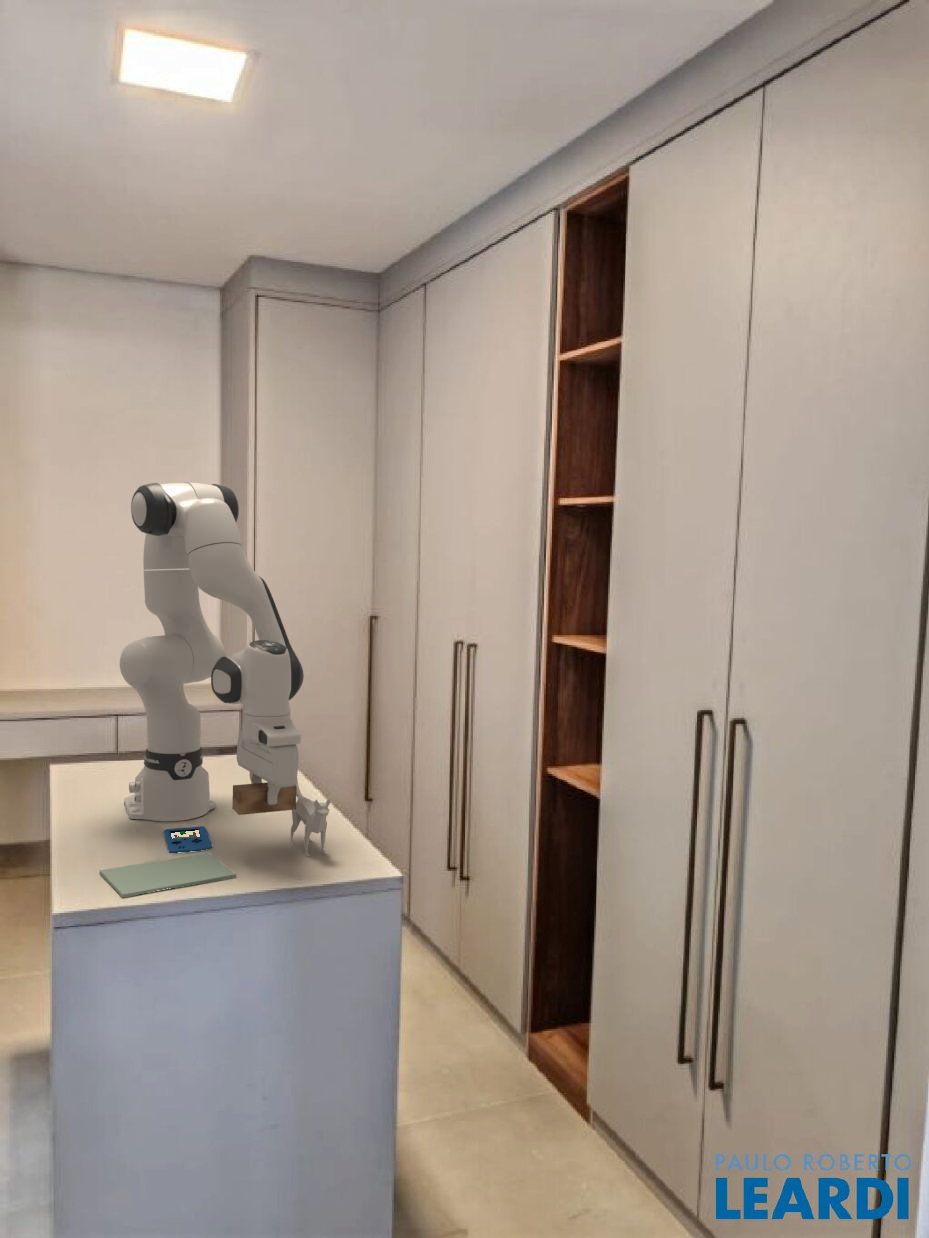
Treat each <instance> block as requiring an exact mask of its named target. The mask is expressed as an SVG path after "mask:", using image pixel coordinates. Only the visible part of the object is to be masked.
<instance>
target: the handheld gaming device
mask: <svg viewBox="0 0 929 1238" xmlns="http://www.w3.org/2000/svg"><path fill="white" fill-rule="evenodd" d="M195 830H199V834H200V837H197V836H196V833H195V832H193V835H189V837H179V836H178V837H177V835H174V836H175V838H173V839H172V837H171V833H175V832H180V834H181V835H183V834H186V833H185V832H186V831H195ZM163 834H165V835H164V838H165V843H166V842H167V843H166V846H167V851H168V850H169V851H168V854H170V853H174V854H179V853H178V852H186V853H191V852H190V851H198V852H202V851H201V850H206V849H209V850H211V849H212V848H213V843H212V840H211V838H210V835H209V833H208V830H207V828H206V826H205V825H199V826H188V827H175V828H173V827H172V828H166V829H164V830H163ZM206 851H207V850H206Z"/></svg>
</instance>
